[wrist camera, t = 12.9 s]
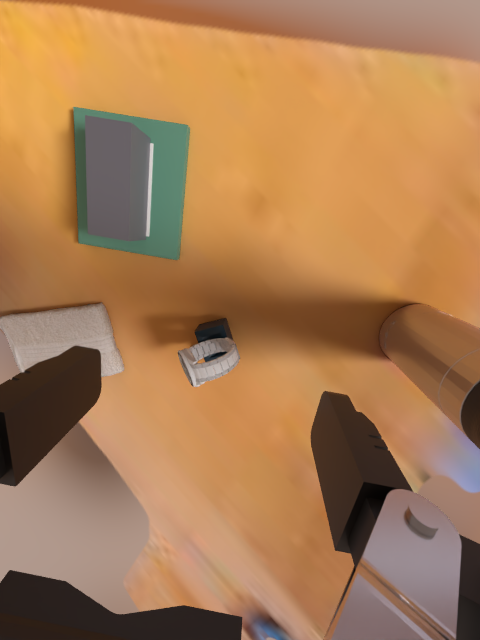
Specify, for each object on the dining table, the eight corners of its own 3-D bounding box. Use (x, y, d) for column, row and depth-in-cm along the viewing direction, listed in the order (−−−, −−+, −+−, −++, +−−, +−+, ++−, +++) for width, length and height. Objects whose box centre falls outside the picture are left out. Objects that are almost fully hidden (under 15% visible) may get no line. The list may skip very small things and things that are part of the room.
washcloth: (6, 313, 44) (-13, 319, 41) (107, 298, 42) (96, 304, 39) (34, 377, 47) (19, 386, 44) (129, 366, 45) (119, 376, 42)
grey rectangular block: (109, 131, 33) (84, 115, 28) (150, 138, 33) (131, 122, 28) (109, 233, 37) (87, 234, 32) (146, 239, 37) (128, 241, 32)
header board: (190, 128, 33) (178, 112, 29) (179, 259, 38) (168, 262, 34) (79, 111, 33) (51, 92, 29) (83, 242, 39) (60, 244, 34)
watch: (187, 327, 42) (162, 360, 31) (237, 314, 40) (228, 344, 30) (199, 359, 43) (179, 400, 33) (247, 348, 42) (242, 387, 31)
